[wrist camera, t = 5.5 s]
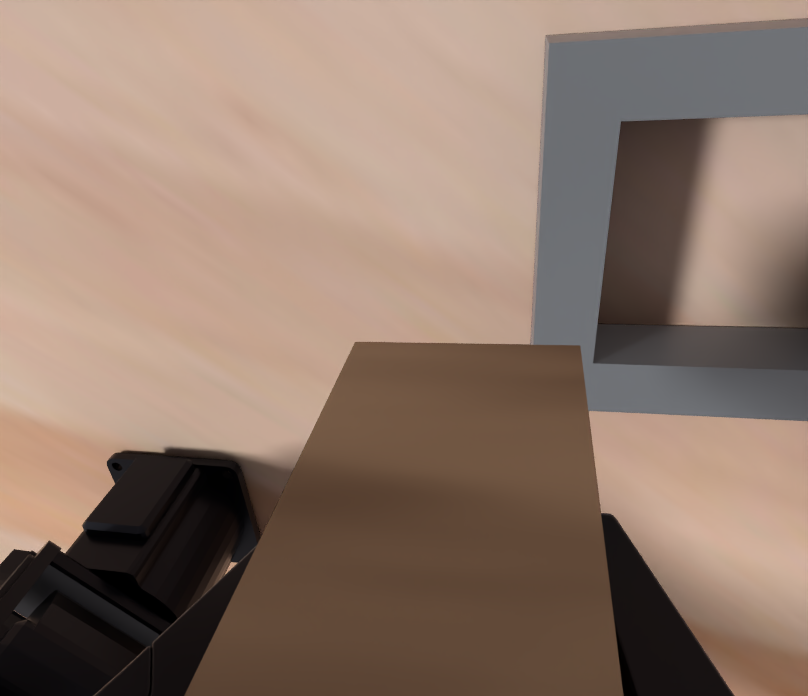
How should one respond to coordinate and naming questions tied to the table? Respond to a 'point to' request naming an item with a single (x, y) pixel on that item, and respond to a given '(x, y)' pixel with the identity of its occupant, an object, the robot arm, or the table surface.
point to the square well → (591, 204)
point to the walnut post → (432, 538)
